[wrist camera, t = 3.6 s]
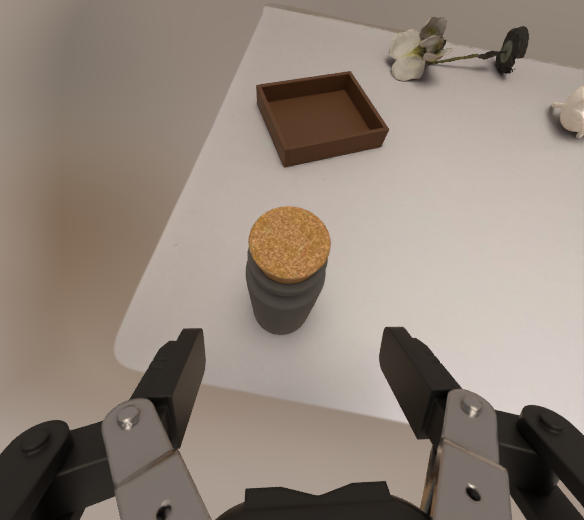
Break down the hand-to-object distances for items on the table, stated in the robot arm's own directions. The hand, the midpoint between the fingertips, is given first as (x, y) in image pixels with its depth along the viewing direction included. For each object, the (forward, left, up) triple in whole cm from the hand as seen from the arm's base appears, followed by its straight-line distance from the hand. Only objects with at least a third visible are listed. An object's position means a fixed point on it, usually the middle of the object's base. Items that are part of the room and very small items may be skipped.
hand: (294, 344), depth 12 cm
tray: (+16, +31, -16) cm, 38 cm away
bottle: (+2, +6, -16) cm, 17 cm away
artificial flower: (+44, +38, -16) cm, 60 cm away
